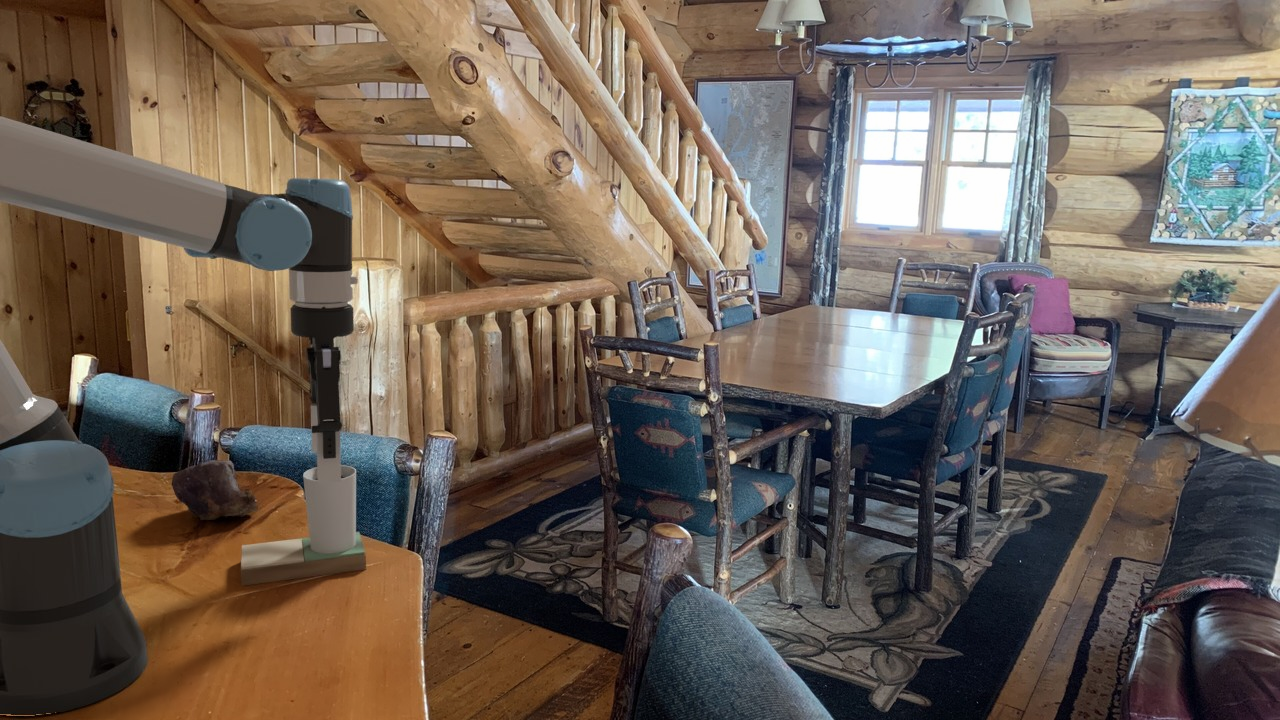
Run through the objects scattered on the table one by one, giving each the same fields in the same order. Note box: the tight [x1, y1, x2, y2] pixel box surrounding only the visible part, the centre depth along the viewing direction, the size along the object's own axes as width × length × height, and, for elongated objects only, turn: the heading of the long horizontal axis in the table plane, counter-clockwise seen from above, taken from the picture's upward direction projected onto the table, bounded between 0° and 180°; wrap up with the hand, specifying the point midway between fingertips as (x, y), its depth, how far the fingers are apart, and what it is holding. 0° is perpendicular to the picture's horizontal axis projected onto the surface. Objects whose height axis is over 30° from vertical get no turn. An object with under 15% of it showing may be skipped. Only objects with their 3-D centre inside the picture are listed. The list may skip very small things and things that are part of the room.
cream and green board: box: [240, 531, 367, 586], centre depth 125 cm, size 8×15×2 cm, turn 112°
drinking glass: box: [302, 464, 357, 554], centre depth 125 cm, size 7×7×10 cm
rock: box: [171, 459, 259, 521], centre depth 141 cm, size 12×9×10 cm
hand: (325, 466), depth 123 cm, fingers open, 13 cm apart
